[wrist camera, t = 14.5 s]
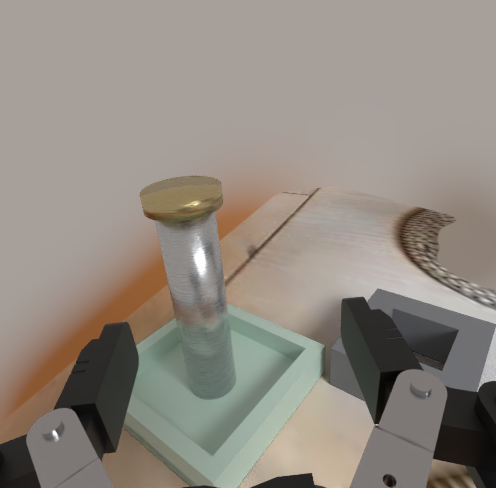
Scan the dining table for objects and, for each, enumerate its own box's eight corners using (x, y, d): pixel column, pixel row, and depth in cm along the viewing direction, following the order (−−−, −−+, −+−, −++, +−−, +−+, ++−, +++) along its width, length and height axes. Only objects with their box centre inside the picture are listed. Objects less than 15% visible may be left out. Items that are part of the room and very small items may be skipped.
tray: (210, 316, 41) (207, 294, 39) (324, 371, 33) (325, 345, 31) (97, 404, 31) (88, 379, 30) (218, 511, 23) (213, 483, 22)
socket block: (374, 320, 38) (377, 288, 36) (485, 360, 32) (496, 324, 31) (329, 383, 32) (330, 348, 30) (459, 447, 26) (471, 408, 24)
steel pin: (211, 350, 35) (183, 172, 27) (255, 373, 32) (237, 181, 24) (170, 386, 31) (123, 194, 23) (214, 417, 28) (177, 208, 20)
